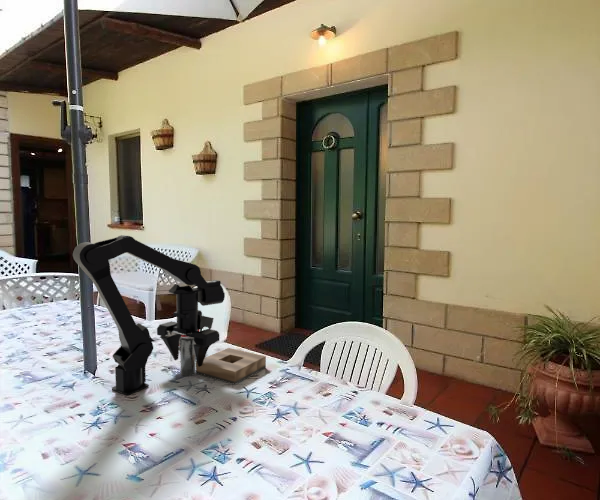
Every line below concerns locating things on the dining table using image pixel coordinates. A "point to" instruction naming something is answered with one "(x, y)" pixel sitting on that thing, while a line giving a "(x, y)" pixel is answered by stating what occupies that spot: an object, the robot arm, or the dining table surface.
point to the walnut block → (231, 365)
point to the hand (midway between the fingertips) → (187, 362)
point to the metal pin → (187, 356)
